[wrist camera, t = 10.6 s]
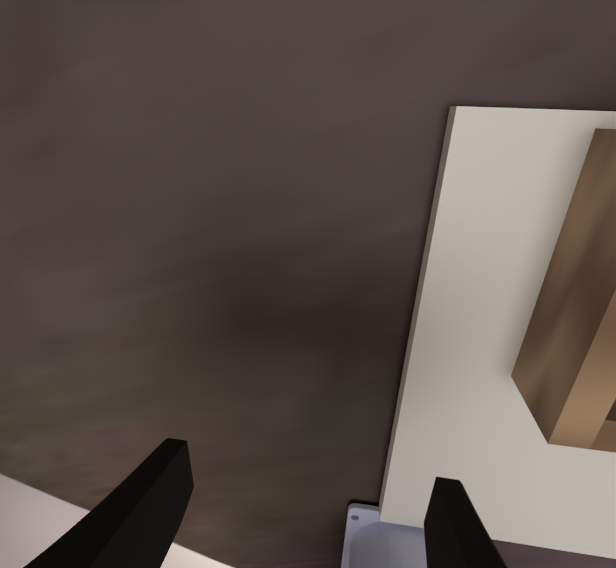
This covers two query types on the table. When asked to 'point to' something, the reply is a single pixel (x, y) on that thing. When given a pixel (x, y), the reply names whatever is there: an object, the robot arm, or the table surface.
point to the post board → (495, 338)
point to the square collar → (577, 316)
